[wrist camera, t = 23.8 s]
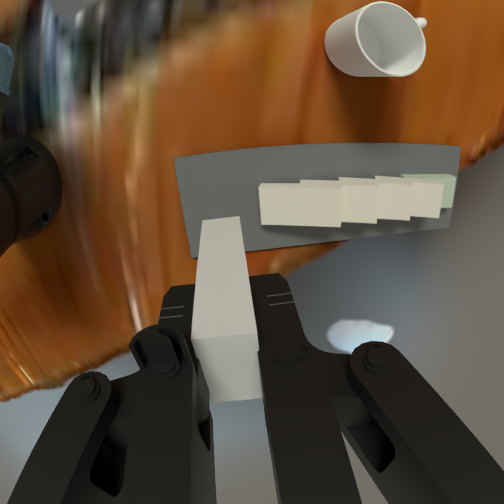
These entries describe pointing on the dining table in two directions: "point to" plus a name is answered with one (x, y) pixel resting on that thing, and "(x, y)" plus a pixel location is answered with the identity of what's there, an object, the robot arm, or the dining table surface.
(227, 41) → the dining table surface
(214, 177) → the slate mat
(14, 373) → the dining table surface
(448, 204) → the domino
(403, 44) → the cup
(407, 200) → the domino
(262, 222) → the domino
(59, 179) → the robot arm
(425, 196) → the domino
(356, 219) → the domino
